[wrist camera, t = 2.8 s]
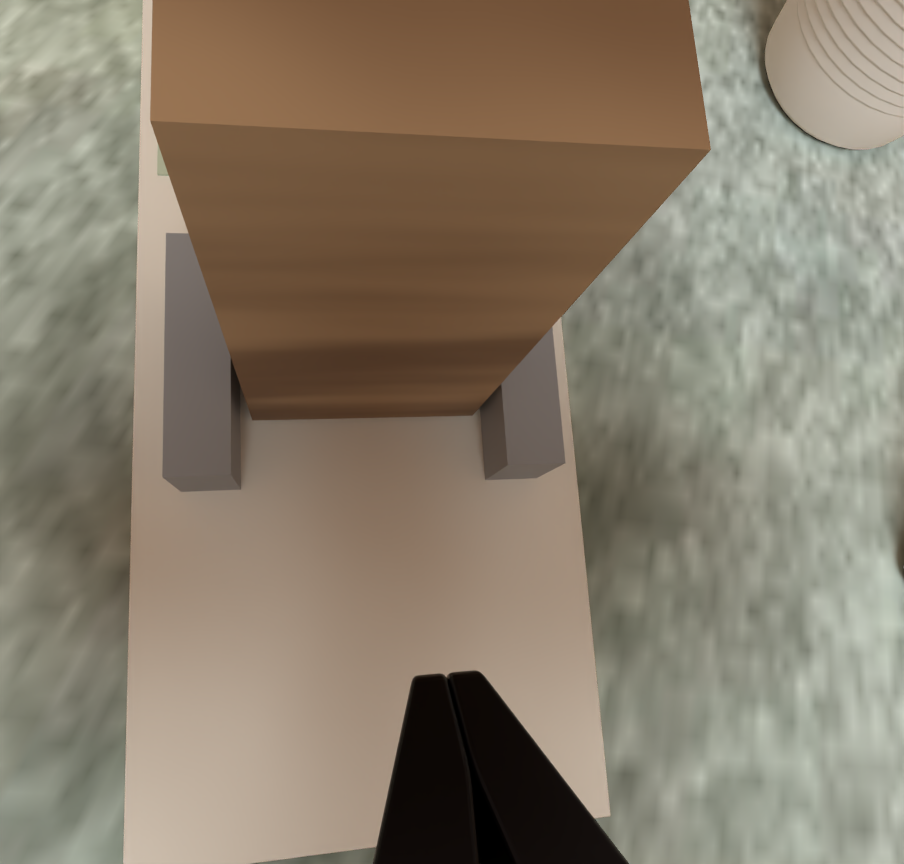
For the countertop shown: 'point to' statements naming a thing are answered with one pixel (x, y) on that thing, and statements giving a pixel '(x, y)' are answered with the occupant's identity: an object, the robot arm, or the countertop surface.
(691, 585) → the countertop surface
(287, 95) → the walnut block
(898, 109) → the cup
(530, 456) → the pink base plate
